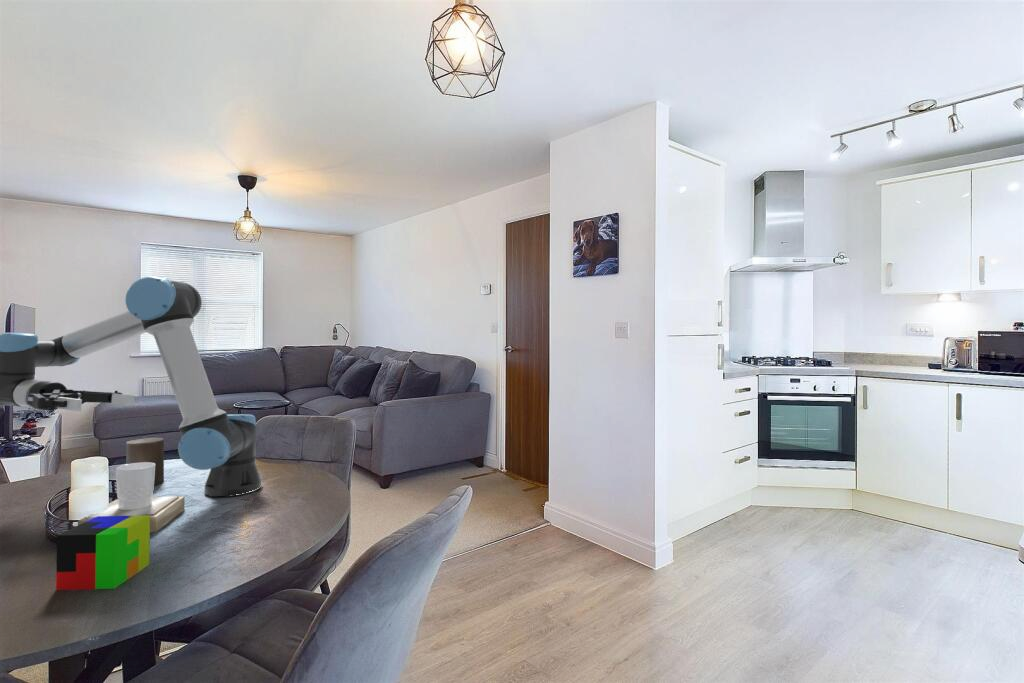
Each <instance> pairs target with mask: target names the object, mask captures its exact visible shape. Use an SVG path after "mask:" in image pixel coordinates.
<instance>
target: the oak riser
mask: <svg viewBox="0 0 1024 683" xmlns="http://www.w3.org/2000/svg"><path fill="white" fill-rule="evenodd" d="M185 499H186V497H185V496H179V495H178V496H155V497H153V498H152V504H151V505H150V506H147V507H145V508H140V509H135V510H120V509H119V508H118V499H114V500H113V501H112V502H111V501H110V502H109V503H108V504H109V507H108V509H107V510H105V511H104V512H100V513H96V514H91V513H90V514H91V515H90V514H88V515H89V516H88V515H87V516H88V517H86V516H84V517H83V518H81V519H79V520H78V521H77V526H78V525H80V524H82V523H84V522H86V521H89V520H91V519H93V518H95V517H97V516H150V533H156V532H158V531H159V530H160V529H162V528H163V527H165V525H167V524H168V523H169V522H171V521H172V520H173V519H174V518H176V517H178V516H179V515H180V514H181V513H182V512H184V510H185V501H186V500H185Z"/></svg>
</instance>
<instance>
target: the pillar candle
mask: <svg viewBox="0 0 1024 683" xmlns="http://www.w3.org/2000/svg"><path fill="white" fill-rule="evenodd" d="M164 452H165V439H164V438H163V437H147V436H146V435H145V437H144V438H137V439H132V440H129V441H126V452H125V453H126V454H125V455H126V457H125V459H126V464H131V463H141V462H151V463H155V478H154V486H156V485H159V484H162V483H164V482H165V464H164V463H165V462H164V461H165V453H164ZM126 464H125V465H126Z"/></svg>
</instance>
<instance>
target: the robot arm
mask: <svg viewBox="0 0 1024 683" xmlns="http://www.w3.org/2000/svg"><path fill="white" fill-rule="evenodd" d="M202 301H203V300H202V297H201V295H200V292H199V291H198V290H197V289H196V287H194V286H193V285H192V284H189V283H187V282H184V281H178V280H174V279H169V278H166V277H162V276H145V277H142V278H139V279H137V280H136V281H134V282H133V283H131V285H130V287H129V289H128V290H127V291H126V294H125V307H126V308H127V311H124V312H121V313H119V314H117V315H114V316H110V317H108V318H105V319H103V320H100V321H98V322H95V323H93V324H91V325H88V326H84V327H82V328H79V329H77V330H74V331H72V332H70V333H66V334H65V335H61V336H59V337H57V338H54V339H49V340H48V339H47V340H46V339H45V340H40V339H39V337H38V336H37V334H35V333H25V332H2V333H1V334H0V405H1V406H7V407H8V406H9V407H18V408H19V407H20V408H28V409H29V411H35V410H41V411H49V412H55V411H56V410H59V409H60V410H67V411H68V410H69V411H75V412H81V411H82V405H83V404H85V403H101V404H102V403H105V404H107V403H108V404H109V403H111V405H120V406H128V407H133V406H134V404H135V395H131V394H123V392H119V391H118V390H114V392H111V391H110V392H109V391H106V392H105V391H89V390H83V389H82V390H74V389H68V388H67V387H66V386H65V385H64V384H63V383H61V382H59V381H58V382H57V381H50V380H43V379H35V375H36V368H43V367H45V368H46V367H65V366H70V365H74V364H75V363H78V361H79V360H80V359H81V358H83V357H85V356H89V355H90V354H94V353H96V352H99V351H101V350H104V349H106V348H108V347H112V346H113V345H116V344H119V343H121V342H124V341H127V340H129V339H132V338H135V337H137V336H139V335H143V334H145V333H148V334H149V335H151V336H153V338H154V340H155V343H156V346H157V349H158V352H159V355H160V358H161V360H162V362H163V366H164V369H165V372H166V374H167V377H168V379H169V383H170V385H171V388H172V392H173V394H174V397H175V400H176V403H177V406H178V409H179V411H180V414H181V417H182V421H181V423H180V424H179V426H178V430H179V431H180V434H181V438H180V440H179V442H178V445H177V452H178V455H179V457H180V459H181V461H182V463H183V464H185V465H187V466H188V467H190V468H191V469H194V470H199V471H205V470H206V471H207V470H209V472H208V475H207V478H206V481H205V484H204V495H205V494H207V495H210V496H209V497H212V496H230V495H236V494H242V493H246V492H249V491H252V490H255V489H257V488H259V487H260V486H261V487H262V478H261V475H260V472H259V470H258V466H257V463H256V449H257V446H256V443H257V442H256V441H257V440H256V438H257V422H256V416H255V415H253V414H240V413H239V414H227V411H226V410H223V409H220V408H219V406H218V405H217V401H216V398H215V395H214V393H213V389H212V387H211V384H210V381H209V378H208V375H207V372H206V369H205V366H204V364H203V362H202V358H201V356H200V352H199V350H198V349H199V348H198V347H197V343H196V341H195V339H194V335H193V333H192V329H191V326H192V325H193V323H194V321H195V319H194V317H196V316H197V315H198V314H199V312H200V311H201V309H202V303H203V302H202ZM207 495H206V496H207ZM230 497H231V496H230Z"/></svg>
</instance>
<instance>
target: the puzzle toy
mask: <svg viewBox="0 0 1024 683" xmlns="http://www.w3.org/2000/svg"><path fill="white" fill-rule="evenodd" d="M150 533H151V532H150V516H97V517H95V518H93V519H91V520H89V521H86V522H84V523H82V524H80V525H78V524H77V525H75V526H73V527H72V528H69V529H67V530H66V531H64V532H61V533H59V534H57V535H56V563H55V564H56V569H55V570H56V571H55V572H56V573H55V574H56V576H55V578H56V580H55V582H56V583H55V590H56V591H63V590H64V591H70V590H74V591H75V590H98V589H99V590H104V589H105V590H107V589H116V588H118V587H119V586H120V585H121V584H123V583H124V582H126V581H127V580H129V579H130V578H132V577H133V576H134V575H136V574H137V573H139V572H140V571H142V570H143V569H144V568H146V567H148V566H149V565H150V538H151V537H150Z"/></svg>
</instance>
